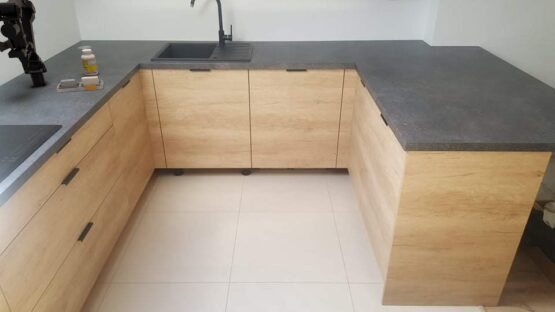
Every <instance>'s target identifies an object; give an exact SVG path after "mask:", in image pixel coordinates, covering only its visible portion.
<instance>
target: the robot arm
mask: <svg viewBox="0 0 555 312" xmlns="http://www.w3.org/2000/svg"><path fill="white" fill-rule="evenodd" d="M35 19H36V7H35V6H34V3H33V2H32V1H31V0H8V1H3V2H0V22H2V23H3V24H2V25H0V33H1V35H2V36H3V37H4V38H7V39H6V40H4V41H1V40H0V52H1V53H3V52H5V51H6V50H9V49H10V50H9V51H8V53H7V57H8V58H9V59H17V60H19V62H20V63H21V66H22V69H23V72H24V74H25V75H29V76H30V80H31V83H32V84H30V87H31V88H35V87H45V86H47V85H48V81H47V80H46V78H45V75H44V74H46V73H47V72H48V69H47V67H46V65H45V63H44V62H43V60H42V58H41V56H40V55H39V54H38V53H37V48H36V47H37V46H36V40H35V33H34V32H35V31H34V26H33V23H34V21H35Z"/></svg>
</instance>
